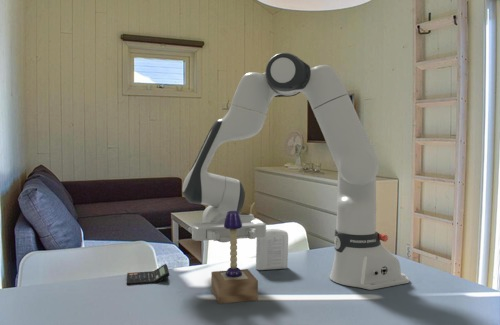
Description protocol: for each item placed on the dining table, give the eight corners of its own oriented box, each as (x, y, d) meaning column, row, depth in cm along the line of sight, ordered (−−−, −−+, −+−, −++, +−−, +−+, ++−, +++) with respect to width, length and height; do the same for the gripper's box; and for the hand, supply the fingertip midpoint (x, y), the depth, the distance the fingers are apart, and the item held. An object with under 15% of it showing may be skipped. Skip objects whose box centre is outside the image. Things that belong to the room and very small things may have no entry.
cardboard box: (247, 287, 123) (247, 268, 123) (257, 300, 113) (257, 279, 113) (211, 290, 120) (211, 270, 120) (218, 303, 111) (218, 282, 110)
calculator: (127, 275, 133) (127, 265, 133) (167, 273, 136) (167, 263, 135) (126, 286, 124) (126, 275, 123) (169, 283, 127) (169, 272, 126)
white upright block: (284, 265, 144) (285, 227, 143) (289, 269, 140) (290, 229, 139) (254, 267, 141) (254, 228, 140) (258, 271, 137) (258, 231, 136)
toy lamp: (240, 278, 114) (240, 213, 113) (222, 277, 115) (222, 212, 114) (243, 272, 119) (243, 210, 118) (225, 271, 119) (226, 209, 118)
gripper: (187, 216, 125) (194, 226, 112) (257, 213, 131) (272, 222, 118) (187, 238, 126) (194, 251, 113) (257, 235, 131) (272, 246, 118)
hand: (235, 236), depth 115 cm, fingers open, 8 cm apart
